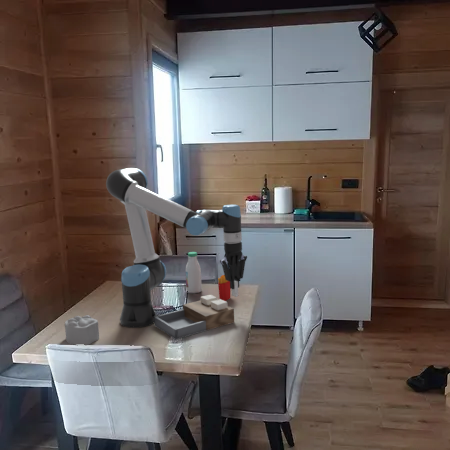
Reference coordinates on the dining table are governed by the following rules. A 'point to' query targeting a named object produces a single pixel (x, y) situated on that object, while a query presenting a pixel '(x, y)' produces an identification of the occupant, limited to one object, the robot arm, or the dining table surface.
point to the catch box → (178, 324)
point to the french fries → (224, 288)
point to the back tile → (208, 299)
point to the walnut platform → (208, 314)
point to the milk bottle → (193, 274)
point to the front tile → (218, 304)
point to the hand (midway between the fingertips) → (235, 295)
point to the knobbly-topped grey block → (81, 330)
